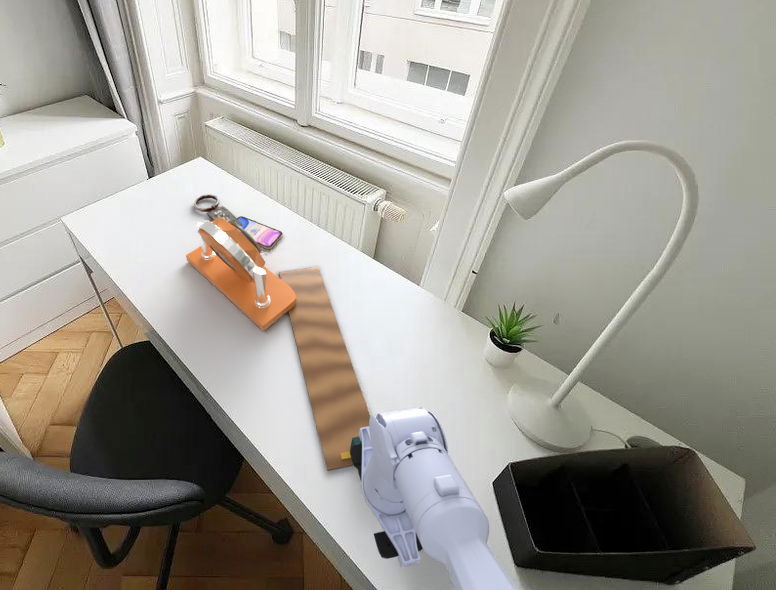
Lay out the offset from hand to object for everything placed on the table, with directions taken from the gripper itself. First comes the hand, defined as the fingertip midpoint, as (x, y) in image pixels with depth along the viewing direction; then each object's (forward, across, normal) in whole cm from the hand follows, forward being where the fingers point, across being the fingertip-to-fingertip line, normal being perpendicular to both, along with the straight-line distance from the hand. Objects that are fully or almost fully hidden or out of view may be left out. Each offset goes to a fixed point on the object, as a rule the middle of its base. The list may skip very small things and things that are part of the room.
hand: (377, 509), depth 56 cm
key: (+9, +10, -2) cm, 14 cm away
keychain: (+9, +80, +18) cm, 83 cm away
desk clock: (+9, +53, +14) cm, 55 cm away
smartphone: (+9, +70, +8) cm, 71 cm away
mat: (+9, +31, -1) cm, 33 cm away
